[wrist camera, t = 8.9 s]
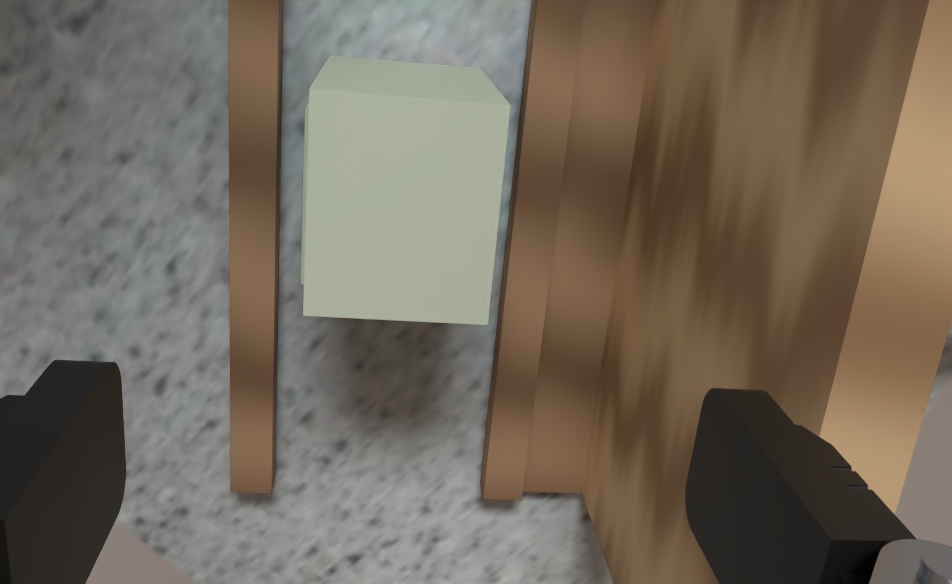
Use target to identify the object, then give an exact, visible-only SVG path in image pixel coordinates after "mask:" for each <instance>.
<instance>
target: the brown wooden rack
mask: <svg viewBox="0 0 952 584" xmlns="http://www.w3.org/2000/svg"><path fill="white" fill-rule="evenodd" d="M282 41H283V0H229V191H230V484H231V492H238V493H272V489H273V485H274V480H275V468H276V407H277V346H278V285H279V224H280V163H281V102H282ZM951 322H952V0H532V4H531V13H530V23H529V32H528V41H527V51H526V60H525V69H524V79H523V88H522V97H521V107H520V116H519V126H518V135H517V144H516V154H515V163H514V172H513V182H512V191H511V200H510V210H509V219H508V228H507V238H506V247H505V256H504V266H503V275H502V284H501V294H500V303H499V312H498V322H497V331H496V340H495V350H494V359H493V368H492V378H491V387H490V396H489V406H488V415H487V424H486V434H485V443H484V452H483V462H482V471H481V480H480V483H481V489H482V495H483V499H493V500H522V494H523V492H550V493H582V495H583V498H584V501H585V504H586V507H587V509H588V512H589V515H590V518H591V521H592V523H593V526H594V529H595V532H596V534H597V537H598V540H599V543H600V546H601V548H602V551H603V554H604V557H605V560H606V562H607V565H608V568H609V571H610V574H611V576H612V579H613V582H614V584H719V582H718V581H717V579H716V577H715V575H714V573H713V571H712V569H711V567H710V565H709V563H708V561H707V559H706V558H705V556H704V554H703V552H702V550H701V548H700V546H699V544H698V542H697V540H696V538H695V536H694V535H693V533H692V531H691V528H690V526H689V523H688V519H687V514H686V506H685V490H686V482H687V477H688V472H689V467H690V462H691V457H692V452H693V447H694V442H695V437H696V432H697V427H698V422H699V417H700V412H701V407H702V403H703V400H704V397H705V395H706V393H707V392H708V391H709V390H710V389H712V388H724V389H749V390H764V391H766V392H767V393H768V394H769V395H770V396H771V397H772V398H773V399H774V401H775V402H776V403H777V404H778V405H779V406H780V408H781V409H782V410H783V411H784V412H785V413H786V415H787V416H788V417H789V418H790V419H791V420H792V422H793V423H794V424H795V425H801V426H803V427H805V428H806V429H808V430H809V431H811V432H813V433H814V434H816V435H817V436H819V437H820V438H822V439H824V440H825V441H827V442H828V443H830V444H832V445H833V446H834V447H835V449H836V450H837V451H838V452H839V453H840V454H841V455H842V456H843V458H844V459H845V460H846V461H847V462H848V463H849V464H850V465H851V466H852V471H856V472H857V473H858V474H859V475H860V476H861V478H862V479H863V480H864V481H865V482H866V483H867V484H868V490H873V491H874V492H875V493H876V494H877V495H878V497H879V498H880V499H881V500H882V501H883V502H884V503H885V504H886V506H887V507H888V508H889V509H890V510H891V511H892V512H893V513H894V514H895V512H896V509H897V505H898V502H899V498H900V495H901V492H902V488H903V485H904V481H905V478H906V475H907V471H908V468H909V464H910V461H911V457H912V454H913V451H914V447H915V444H916V441H917V437H918V434H919V430H920V427H921V424H922V420H923V417H924V414H925V410H926V407H927V403H928V400H929V397H930V393H931V390H932V386H933V383H934V380H935V376H936V373H937V369H938V366H939V363H940V359H941V356H942V352H943V349H944V346H945V342H946V339H947V336H948V332H949V329H950V325H951Z"/></svg>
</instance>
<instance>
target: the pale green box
mask: <svg viewBox="0 0 952 584" xmlns="http://www.w3.org/2000/svg"><path fill="white" fill-rule="evenodd" d="M510 107H511V105H510V104H509V102H508V101H507V100H506V99H505V98H504V96H503V95H502V94H501V93H500V91H499V90H498V89H497V88H496V87H495V85H494V84H493V83H492V82H491V80H490V79H489V78H488V77H487V76H486V74H485V73H484V72H483V71H482V70H481V68H470V67H458V66H446V65H434V64H423V63H411V62H399V61H387V60H375V59H363V58H352V57H340V56H329V58H328V59H327V61H326V62H325V64H324V66H323V67H322V69H321V71H320V72H319V74H318V76H317V77H316V79H315V80H314V82H313V84H312V85H311V87H310V89H309V102H308V104H307V106H306V108H305V140H304V178H303V216H302V254H301V284H304V300H303V316H318V317H338V318H357V319H377V320H397V321H417V322H436V323H456V324H476V325H488V318H489V309H490V299H491V289H492V280H493V270H494V261H495V251H496V241H497V232H498V222H499V213H500V203H501V193H502V184H503V174H504V165H505V155H506V145H507V136H508V126H509V116H510Z"/></svg>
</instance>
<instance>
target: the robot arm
mask: <svg viewBox="0 0 952 584" xmlns="http://www.w3.org/2000/svg"><path fill="white" fill-rule="evenodd" d="M125 480H126V458H125V439H124V421H123V402H122V384H121V375H120V370H119V368H118V365H117V364H116V363H115V362H96V361H72V360H54V361H53V362H52V363H51V364H50V365H49V366H48V367H47V369H46V370H45V371H44V372H43V373H42V375H41V376H40V377H39V378H38V380H37V381H36V382H35V383H34V385H33V386H32V387H31V388H30V389H29V391H28V392H27V393H26V394H25V396H18V395H7V396H5V397H3V398H1V399H0V584H85V583H86V581H87V579H88V577H89V575H90V573H91V571H92V568H93V566H94V564H95V562H96V560H97V558H98V556H99V554H100V552H101V550H102V548H103V546H104V543H105V541H106V539H107V537H108V535H109V533H110V531H111V529H112V527H113V525H114V523H115V520H116V518H117V516H118V514H119V511H120V508H121V504H122V500H123V496H124V489H125ZM685 506H686V514H687V519H688V523H689V526H690V528H691V531H692V533H693V535H694V536H695V538H696V540H697V542H698V544H699V546H700V548H701V550H702V552H703V554H704V556H705V558H706V559H707V561H708V563H709V565H710V567H711V569H712V571H713V573H714V575H715V577H716V579H717V581H718V582H719V584H952V547H951V546H947V545H944V544H941V543H937V542H932V541H927V540H920V539H916V538H915V537H914V536H913V535H912V534H911V532H910V531H909V530H908V529H907V528H906V527H905V526H904V524H903V523H902V522H901V521H900V520H899V519H898V518H897V517H896V516H895V514H894V513H893V512H892V511H891V510H890V509H889V508H888V507H887V506H886V504H885V503H884V502H883V501H882V500H881V499H880V498H879V497H878V495H877V494H876V493H875V492H874V491H873V490H868V484H867V483H866V482H865V481H864V480H863V479H862V478H861V476H860V475H859V474H858V473H857V472H856V471H852V466H851V465H850V464H849V463H848V462H847V461H846V460H845V459H844V458H843V456H842V455H841V454H840V453H839V452H838V451H837V450H836V449H835V447H834V446H833V445H832V444H830V443H828V442H827V441H825V440H824V439H822V438H820V437H819V436H817V435H816V434H814V433H813V432H811V431H809V430H808V429H806V428H805V427H803V426H801V425H795V424H794V423H793V422H792V420H791V419H790V418H789V417H788V416H787V415H786V413H785V412H784V411H783V410H782V409H781V408H780V406H779V405H778V404H777V403H776V402H775V401H774V399H773V398H772V397H771V396H770V395H769V394H768V393H767V392H766V391H764V390H749V389H724V388H712V389H710V390H709V391H708V392H707V393H706V395H705V397H704V400H703V403H702V407H701V412H700V417H699V422H698V427H697V432H696V437H695V442H694V447H693V452H692V457H691V462H690V467H689V472H688V477H687V482H686V490H685Z"/></svg>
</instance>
